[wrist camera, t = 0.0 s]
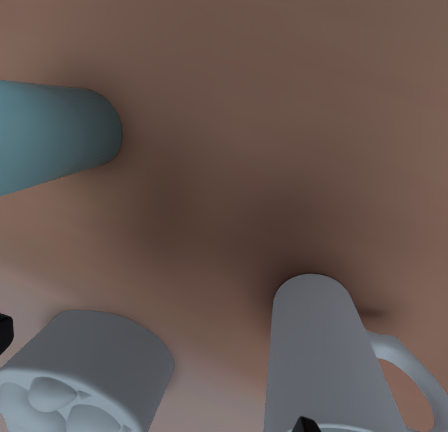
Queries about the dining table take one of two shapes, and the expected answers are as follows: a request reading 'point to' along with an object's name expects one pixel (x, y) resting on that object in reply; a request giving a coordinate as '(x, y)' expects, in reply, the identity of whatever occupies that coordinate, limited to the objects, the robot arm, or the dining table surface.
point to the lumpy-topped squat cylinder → (86, 376)
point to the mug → (336, 365)
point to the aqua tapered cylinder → (52, 133)
